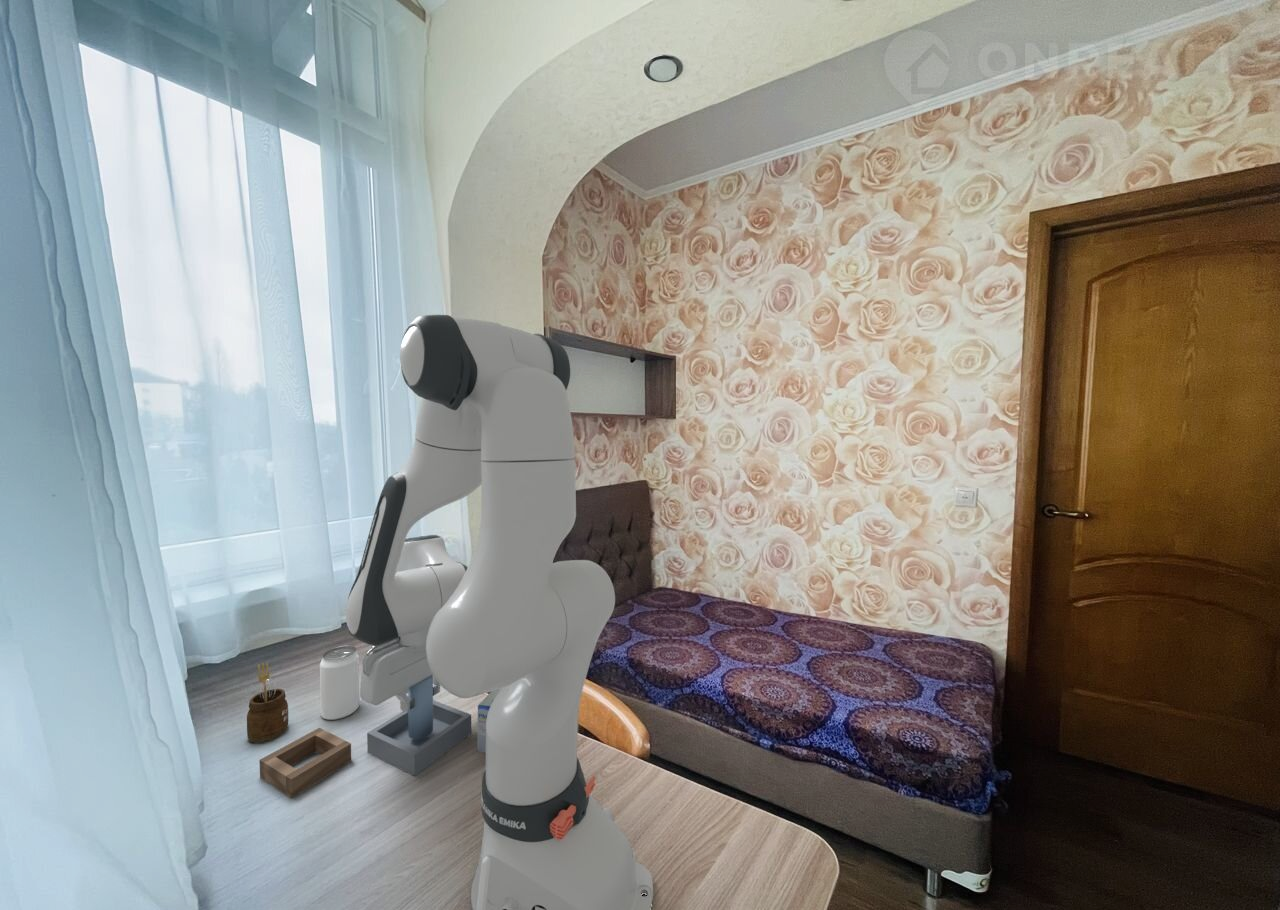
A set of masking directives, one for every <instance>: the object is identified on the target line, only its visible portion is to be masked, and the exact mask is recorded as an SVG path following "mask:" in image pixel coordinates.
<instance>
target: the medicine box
mask: <svg viewBox="0 0 1280 910" xmlns="http://www.w3.org/2000/svg"><path fill="white" fill-rule="evenodd" d="M500 690H501V688H500V689H497V690H494V691H491V692H488V694H487V696H485V698H484V699H483V700H482V701H481V702H480V703H478V705H477V752H478V753H482V752H484V753H483V754H486V719H487V715H488V711H489V709H490V706H491V704H492V702H493V700H494V699H495V697H496V695H497V694H498V692H499V691H500Z"/></svg>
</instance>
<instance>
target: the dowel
mask: <svg viewBox="0 0 1280 910" xmlns="http://www.w3.org/2000/svg"><path fill="white" fill-rule="evenodd" d="M407 696H409V697H410V698H414V699H415V703H414V705H415V707H414V708H413V709H411V710H409V711H408V735H409V737H410V738H412V739H420V738H424V737H426V736H428V735H429V734H431V732H432V731H433V700H434V696H433V675H431V676H429V677H427V678H426V679H424V680H422V681H420V682H418V683H417V684H415V685H413V686H411V687H409V693H408V694H407Z"/></svg>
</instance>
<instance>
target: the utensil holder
mask: <svg viewBox="0 0 1280 910" xmlns="http://www.w3.org/2000/svg"><path fill="white" fill-rule="evenodd" d="M265 664H266V667H265ZM269 666H270V665H269V662H268V661H267V662H265V663H261V665H260V664H258V665H257V670H258V672H257V673H258V674H257V675H258V682H259V683H261V684H260V686H259V688H260V692H259V693H257V694H255V695H253V696H252V697H251V698H250V699H249V703H248V711H247V713H246V714H247V715H246V736H247V739H248V741H249V742H250V743H255V744H256V743H264V742H269V741H271V740H273V739H275V738H278V737H279V736H281V735H283V734H284V733H285V732H286V730H287V729H288V726H289V703H288V701H287V699H286V691H285V690H283V689H282V688H274V686H276V683H274V682H275V681H274V678H271V677H270V668H269ZM265 668H266V671H265ZM261 669H262V673H261ZM261 675H262V676H261ZM270 681H271V682H272V684H273V686H272V688H270V687H271V686H270V684H268V685H269V686H268V687H269V689H267V683H268V682H270ZM262 688H263V691H262Z"/></svg>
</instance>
